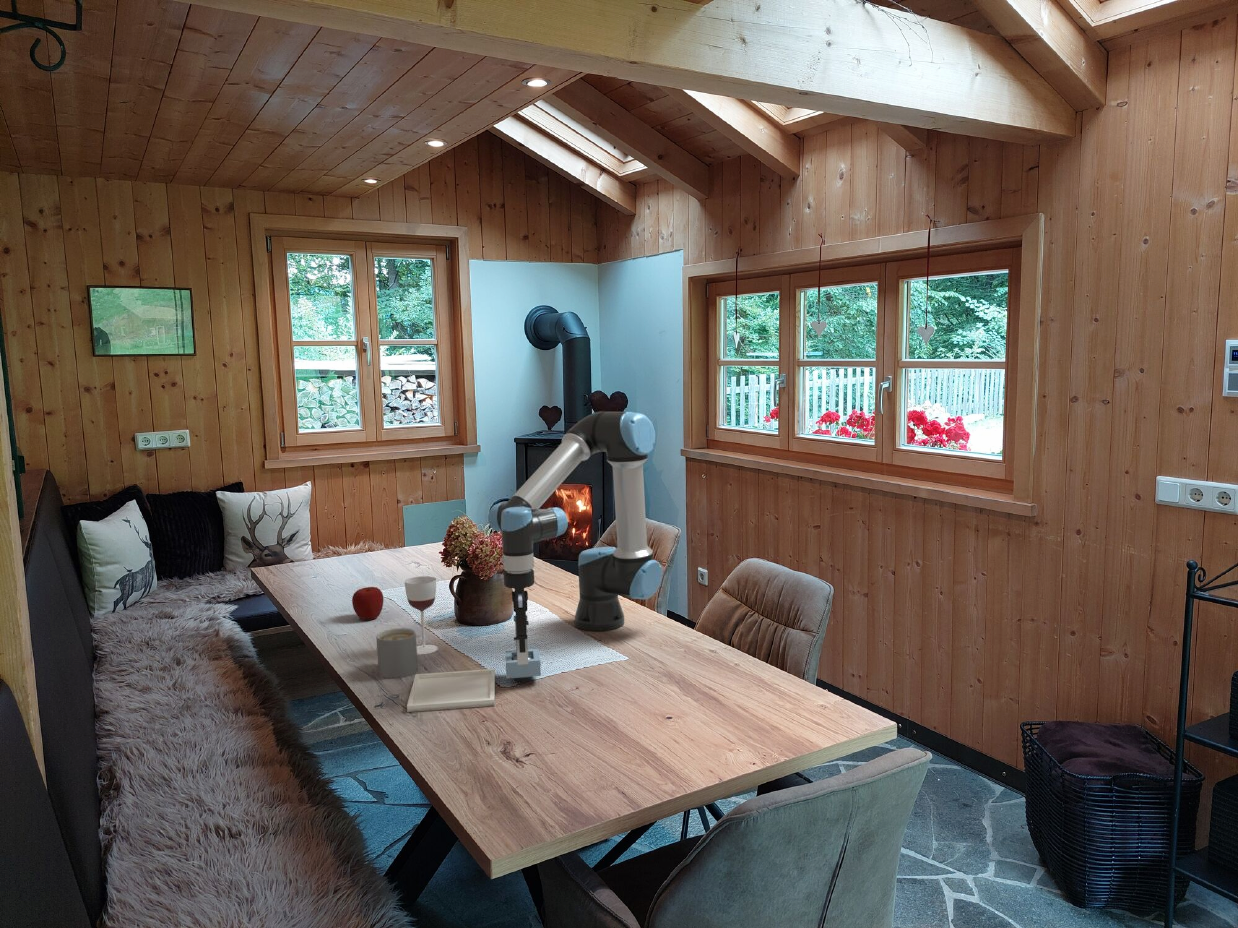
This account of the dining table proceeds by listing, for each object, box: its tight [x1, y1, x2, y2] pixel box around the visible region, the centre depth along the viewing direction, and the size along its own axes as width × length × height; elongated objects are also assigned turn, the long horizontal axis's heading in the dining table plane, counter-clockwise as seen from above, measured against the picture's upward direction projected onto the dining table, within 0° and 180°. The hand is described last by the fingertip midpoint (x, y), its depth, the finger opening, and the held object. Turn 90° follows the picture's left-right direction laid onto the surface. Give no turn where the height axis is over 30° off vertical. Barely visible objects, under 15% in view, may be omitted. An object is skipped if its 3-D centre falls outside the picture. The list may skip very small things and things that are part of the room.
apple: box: [351, 586, 384, 621], centre depth 270 cm, size 10×10×10 cm
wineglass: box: [404, 575, 439, 655], centre depth 239 cm, size 8×9×20 cm
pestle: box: [512, 614, 534, 684], centre depth 216 cm, size 5×5×16 cm
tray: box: [406, 668, 496, 713], centre depth 209 cm, size 20×20×2 cm
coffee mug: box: [375, 627, 418, 679], centre depth 225 cm, size 13×10×10 cm
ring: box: [505, 648, 542, 679], centre depth 216 cm, size 8×8×4 cm
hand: (522, 657), depth 216 cm, fingers closed on ring, 8 cm apart
